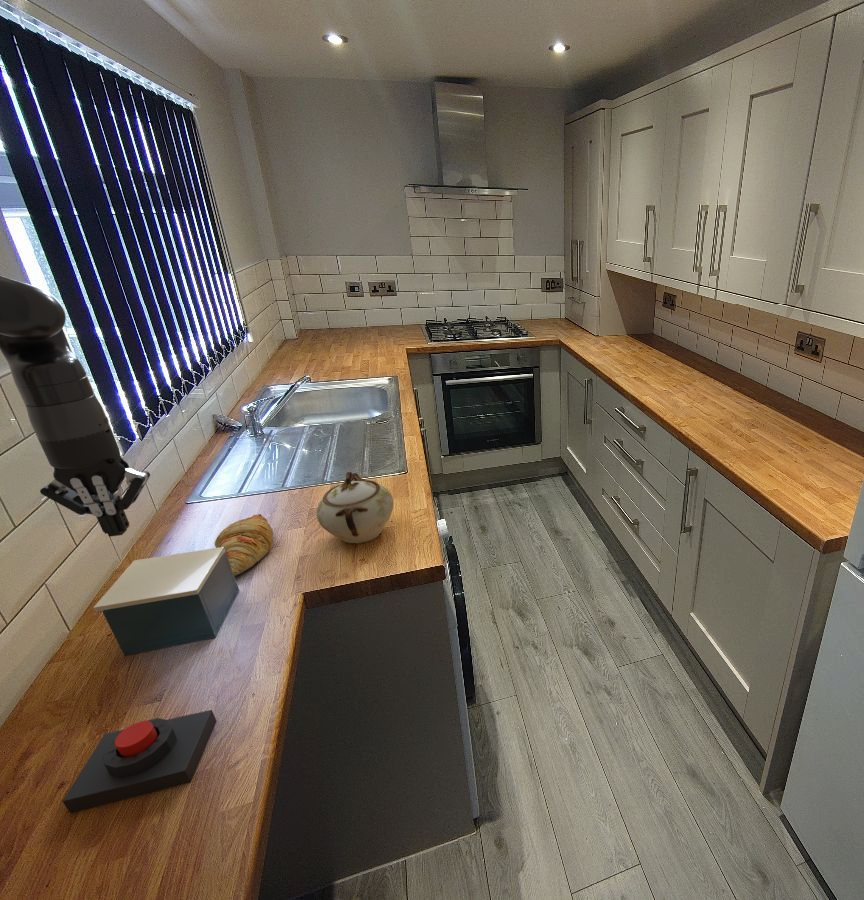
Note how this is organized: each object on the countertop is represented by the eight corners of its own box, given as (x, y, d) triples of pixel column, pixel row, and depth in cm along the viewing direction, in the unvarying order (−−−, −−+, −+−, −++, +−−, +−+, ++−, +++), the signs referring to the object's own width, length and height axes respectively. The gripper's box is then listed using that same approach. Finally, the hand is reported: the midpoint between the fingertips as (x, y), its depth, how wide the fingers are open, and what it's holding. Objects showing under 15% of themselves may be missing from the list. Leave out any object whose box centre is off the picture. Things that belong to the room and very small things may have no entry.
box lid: (95, 611, 79) (92, 607, 78) (135, 564, 90) (133, 560, 89) (198, 594, 82) (196, 590, 82) (225, 550, 93) (223, 546, 93)
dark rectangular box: (123, 655, 82) (101, 611, 79) (159, 604, 94) (141, 563, 90) (215, 637, 86) (198, 594, 82) (239, 590, 97) (225, 550, 93)
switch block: (70, 813, 60) (55, 791, 59) (111, 745, 68) (98, 723, 67) (191, 782, 63) (179, 760, 62) (216, 720, 71) (207, 699, 70)
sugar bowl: (397, 551, 108) (384, 486, 102) (317, 566, 103) (298, 499, 97) (398, 506, 125) (387, 448, 119) (329, 517, 120) (314, 458, 114)
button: (113, 761, 62) (108, 751, 62) (128, 735, 65) (123, 725, 65) (149, 752, 63) (144, 742, 63) (162, 727, 66) (157, 717, 66)
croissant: (256, 592, 101) (268, 558, 100) (194, 583, 97) (205, 547, 95) (277, 534, 120) (287, 504, 118) (225, 524, 115) (235, 493, 113)
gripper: (-5, 444, 69) (51, 554, 76) (116, 432, 73) (158, 538, 80) (32, 425, 76) (80, 528, 83) (141, 415, 79) (178, 514, 86)
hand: (119, 533), depth 81 cm, fingers closed
